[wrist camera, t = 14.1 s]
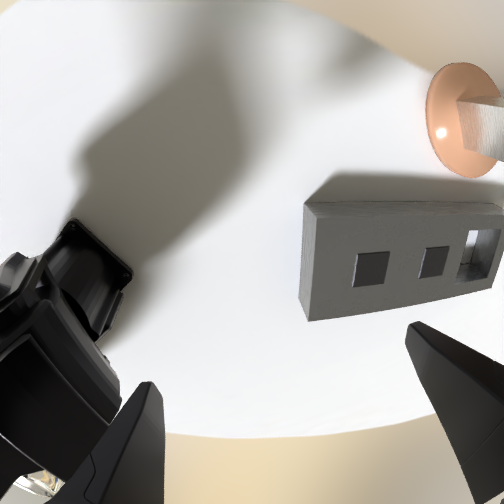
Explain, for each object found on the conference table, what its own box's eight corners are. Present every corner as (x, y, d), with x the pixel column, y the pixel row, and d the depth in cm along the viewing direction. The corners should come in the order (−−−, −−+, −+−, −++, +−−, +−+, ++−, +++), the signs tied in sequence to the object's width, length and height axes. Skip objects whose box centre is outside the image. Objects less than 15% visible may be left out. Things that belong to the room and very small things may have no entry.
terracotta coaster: (404, 95, 17) (412, 95, 17) (471, 46, 15) (478, 46, 14) (453, 196, 21) (460, 200, 21) (508, 139, 19) (515, 141, 18)
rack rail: (298, 298, 24) (308, 322, 21) (303, 203, 21) (317, 218, 18) (474, 273, 26) (491, 288, 23) (493, 203, 22) (513, 215, 19)
